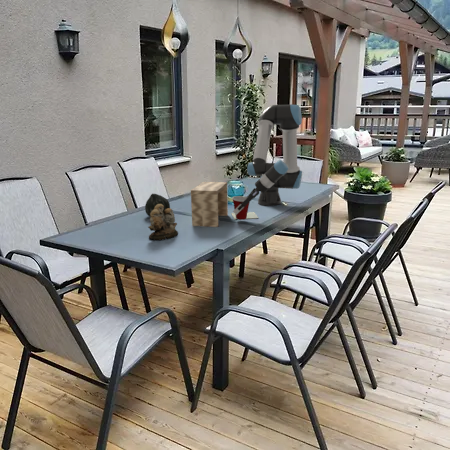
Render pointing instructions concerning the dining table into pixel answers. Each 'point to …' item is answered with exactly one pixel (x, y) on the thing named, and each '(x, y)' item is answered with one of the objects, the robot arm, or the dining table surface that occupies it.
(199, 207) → the oak cabinet
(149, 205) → the squash
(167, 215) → the owl figurine
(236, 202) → the plastic cup
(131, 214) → the dining table surface
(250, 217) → the mat
